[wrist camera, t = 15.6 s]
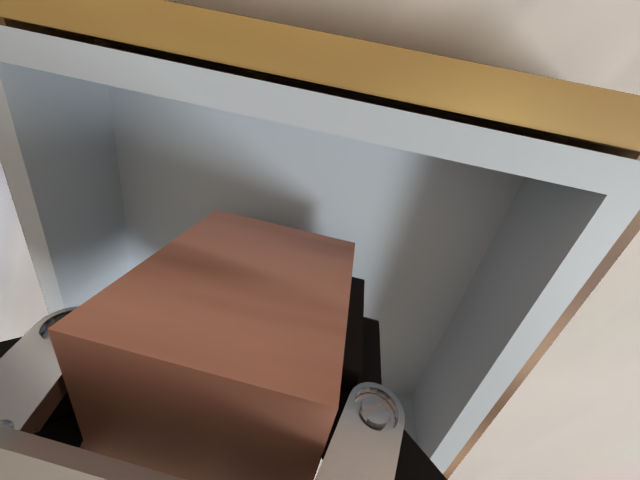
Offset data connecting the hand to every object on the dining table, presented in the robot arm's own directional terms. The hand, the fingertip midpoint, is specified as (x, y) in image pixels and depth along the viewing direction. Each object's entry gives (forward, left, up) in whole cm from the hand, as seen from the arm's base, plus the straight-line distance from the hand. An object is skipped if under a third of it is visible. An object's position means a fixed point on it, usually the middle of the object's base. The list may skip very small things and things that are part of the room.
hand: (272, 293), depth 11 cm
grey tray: (0, 0, -3) cm, 3 cm away
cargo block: (0, 0, 0) cm, 1 cm away
